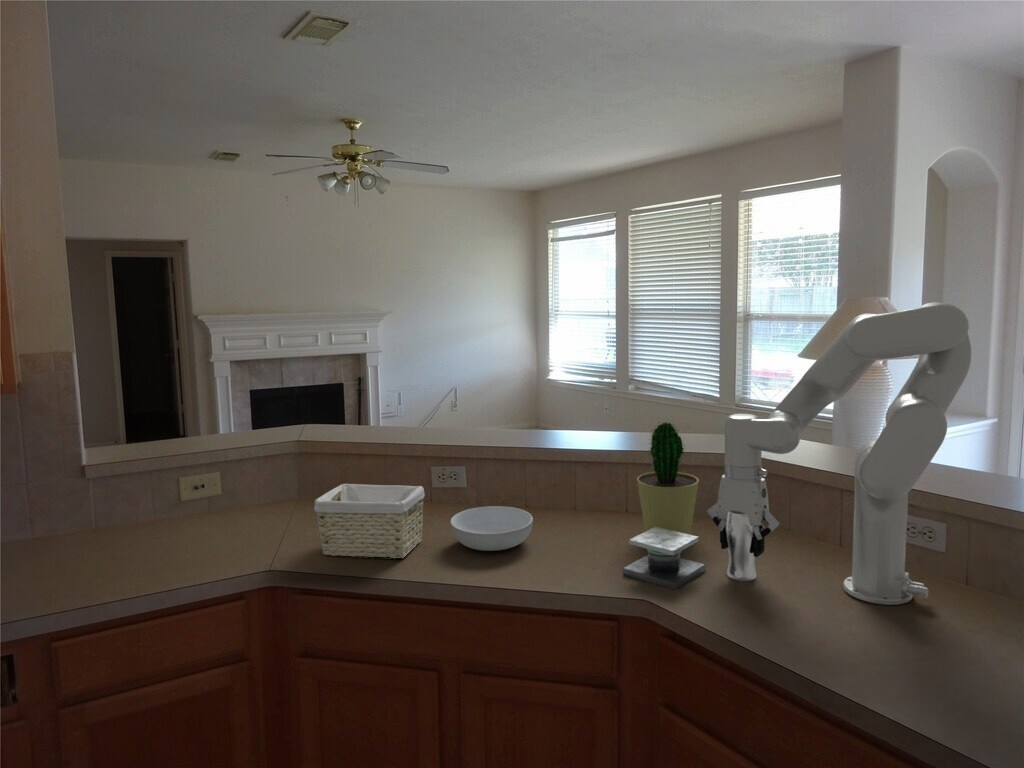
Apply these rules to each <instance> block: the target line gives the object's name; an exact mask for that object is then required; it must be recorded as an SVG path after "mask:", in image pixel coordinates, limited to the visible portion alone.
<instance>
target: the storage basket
mask: <svg viewBox="0 0 1024 768" xmlns="http://www.w3.org/2000/svg"><path fill="white" fill-rule="evenodd" d="M425 494H426V493H425V489H424V487H423V486H422V485H418V486H417V485H415V486H414V485H392V484H391V485H388V484H387V485H386V484H385V485H383V484H381V485H379V484H361V483H359V484H357V483H352V484H351V483H342V484H340V485H338V486H336V487H334V488H333V489H331V490H329V491H328V492H326V493H324V494H322V495H321V496H319V497H318V498H316V499H314V508H313V509H314V512H316V516H317V521H318V522H317V523H318V532H319V535H320V537H319V538H320V539H319V540H320V541H321V548H322V554H323V553H331V554H347V555H357V556H373V557H390V558H389V559H391V558H393V559H395V558H402V559H405V558H406V557H407V556H408V555H409V554H410V553H411V552H412V551H413V550H414V549H415V548H416V547H417V546H418V545H419V544H420V543H421V542H420V541H423V540H422V539H423V518H424V517H423V515H424V514H423V509H424V508H423V507H424V498H425V496H426V495H425ZM418 543H419V544H418ZM417 544H418V545H417ZM416 545H417V546H416ZM415 546H416V547H415ZM414 547H415V548H414ZM413 548H414V549H413ZM412 549H413V550H412ZM411 550H412V551H411ZM410 551H411V552H410ZM409 552H410V553H409ZM408 553H409V554H408ZM407 554H408V555H407ZM406 555H407V556H406ZM405 556H406V557H405ZM404 557H405V558H404Z"/></svg>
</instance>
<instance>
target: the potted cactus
mask: <svg viewBox="0 0 1024 768" xmlns="http://www.w3.org/2000/svg"><path fill="white" fill-rule="evenodd" d="M650 431H651V430H650ZM649 434H650V435H651V438H649V441H650V442H649V445H650V447H649V452H650V453H648V454H647V455H651V457H652V458H651V459H650V461H651V463H653V464H652V468H653V471H652V472H646V473H643V474H641V475H639V476H637V478H636V480H637V488H638V495H639V501H640V506H641V513H642V521H643V527H644V532H646V531H648V530H650V529H652V528H654V527H659V528H663V529H667V530H672V531H676V532H680V533H685V534H689V535H692V534H691V533H692V527H693V526H692V525H693V520H694V515H695V514H694V513H695V512H694V511H695V506H696V500H697V494H698V489H699V488H698V487H699V482H700V479H699V477H696V476H695V475H692V474H689V473H686V472H679V471H681V467H680V466H683V464H681V461H682V460H681V459H682V456H683V455H684V453H685V447H684V444H683V441H684V438H681V435H679V429H677V428H676V427H675V425H673V423H671V422H667V421H664V422H662V423H660V421H658V424H657V425H656V427H654V429H653V430H652V431H651V433H650V432H649ZM679 469H680V470H679Z"/></svg>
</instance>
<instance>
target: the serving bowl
mask: <svg viewBox="0 0 1024 768" xmlns="http://www.w3.org/2000/svg"><path fill="white" fill-rule="evenodd" d="M533 518H534V517H533V516H532V514H531V513H529V512H528V511H527V510H524V509H522V508H517V507H513V506H501V505H499V506H498V505H496V506H495V505H493V506H492V505H489V506H479V507H474V508H468V509H466V510H463V511H460V512H458V513H455V514H454V516H452V517H451V518H450V527H451V531H452V534H453V535H454V537H455V538H456V540H457V541H458V543H460V544H461V545H463V546H465V547H467V548H470V549H472V550H476V551H477V550H478V551H485V552H487V551H489V552H490V551H491V552H492V551H493V552H494V551H503V550H507V549H511V548H514V547H516V546H518V545H520V544H522V543H523V542H524V541H525V540H527V538H528V537H529V535H530V533H531V531H532V528H533V524H534V523H533V522H534V520H533Z"/></svg>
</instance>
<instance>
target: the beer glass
mask: <svg viewBox="0 0 1024 768" xmlns="http://www.w3.org/2000/svg"><path fill="white" fill-rule="evenodd" d="M725 533H726V541H727V550H728V551H727V552H728V566H727V571H726V574H727V577H728V578H730V579H731V580H735V581H739V582H750V581H754V580H755V579H756V578H757V573H756V572H757V571H756V566H755V558H756V557H754V555H753V550H754V539H755V538H756V535H755V533H754V531H753V526H751V525H750V522H749V518H748V514H737V513H733V512H730V511H728V510H727V517H726V522H725Z"/></svg>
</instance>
